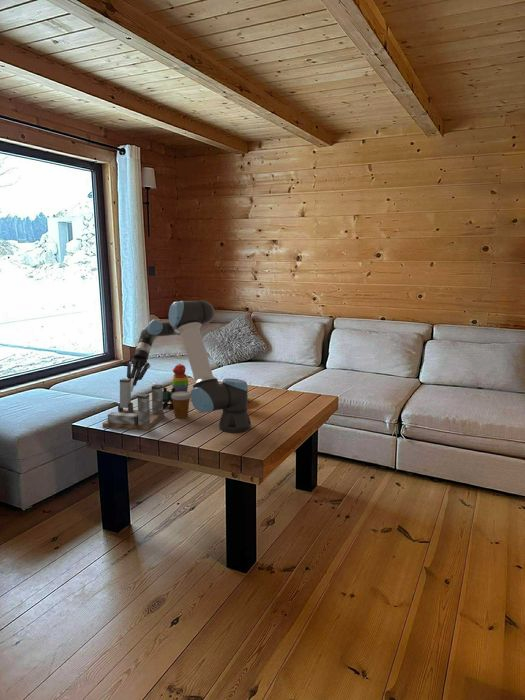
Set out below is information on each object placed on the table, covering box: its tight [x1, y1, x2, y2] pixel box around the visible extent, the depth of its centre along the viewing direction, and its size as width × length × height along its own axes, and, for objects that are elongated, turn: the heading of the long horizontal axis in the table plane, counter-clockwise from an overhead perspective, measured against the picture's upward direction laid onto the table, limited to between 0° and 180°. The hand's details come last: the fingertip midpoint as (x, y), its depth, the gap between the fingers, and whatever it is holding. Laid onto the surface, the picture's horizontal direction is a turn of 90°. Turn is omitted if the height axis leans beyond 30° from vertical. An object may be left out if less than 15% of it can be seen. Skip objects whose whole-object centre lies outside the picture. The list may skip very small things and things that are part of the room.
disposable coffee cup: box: [171, 391, 191, 420], centre depth 242 cm, size 10×10×12 cm
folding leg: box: [119, 378, 132, 409], centre depth 243 cm, size 4×4×14 cm
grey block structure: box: [101, 384, 165, 431], centre depth 233 cm, size 23×22×16 cm
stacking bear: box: [171, 363, 189, 392], centre depth 282 cm, size 11×10×18 cm
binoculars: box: [162, 386, 176, 410], centre depth 256 cm, size 9×11×10 cm
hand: (130, 390), depth 249 cm, fingers closed
